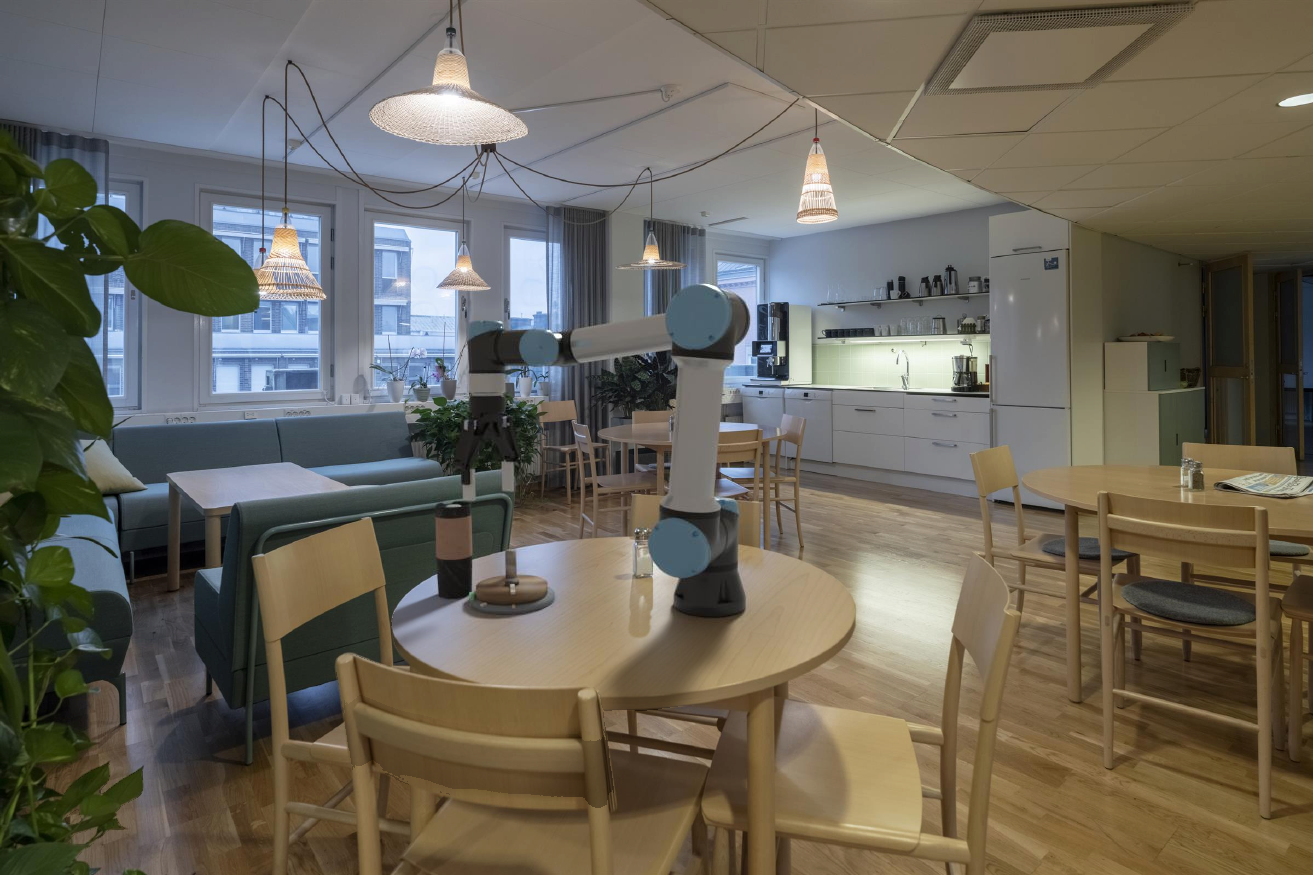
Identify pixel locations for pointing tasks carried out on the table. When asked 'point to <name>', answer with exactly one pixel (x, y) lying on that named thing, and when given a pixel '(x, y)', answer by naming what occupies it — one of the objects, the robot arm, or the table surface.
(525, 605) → the gauge plate
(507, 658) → the table surface
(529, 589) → the dial
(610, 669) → the table surface
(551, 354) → the robot arm
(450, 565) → the travel mug
